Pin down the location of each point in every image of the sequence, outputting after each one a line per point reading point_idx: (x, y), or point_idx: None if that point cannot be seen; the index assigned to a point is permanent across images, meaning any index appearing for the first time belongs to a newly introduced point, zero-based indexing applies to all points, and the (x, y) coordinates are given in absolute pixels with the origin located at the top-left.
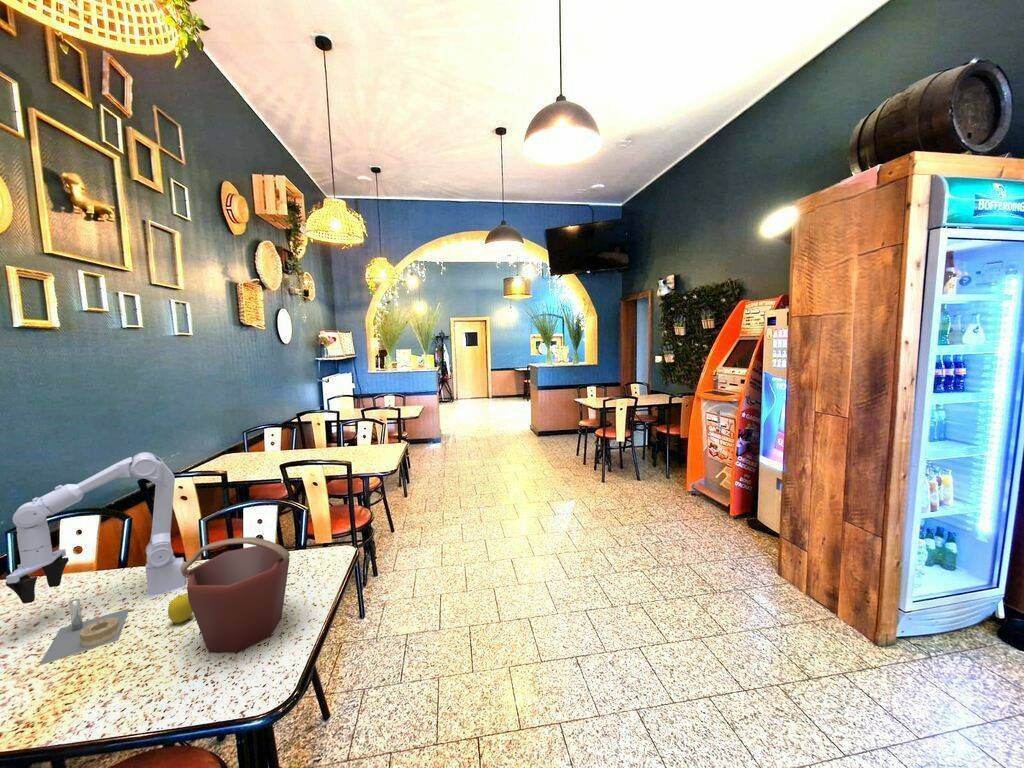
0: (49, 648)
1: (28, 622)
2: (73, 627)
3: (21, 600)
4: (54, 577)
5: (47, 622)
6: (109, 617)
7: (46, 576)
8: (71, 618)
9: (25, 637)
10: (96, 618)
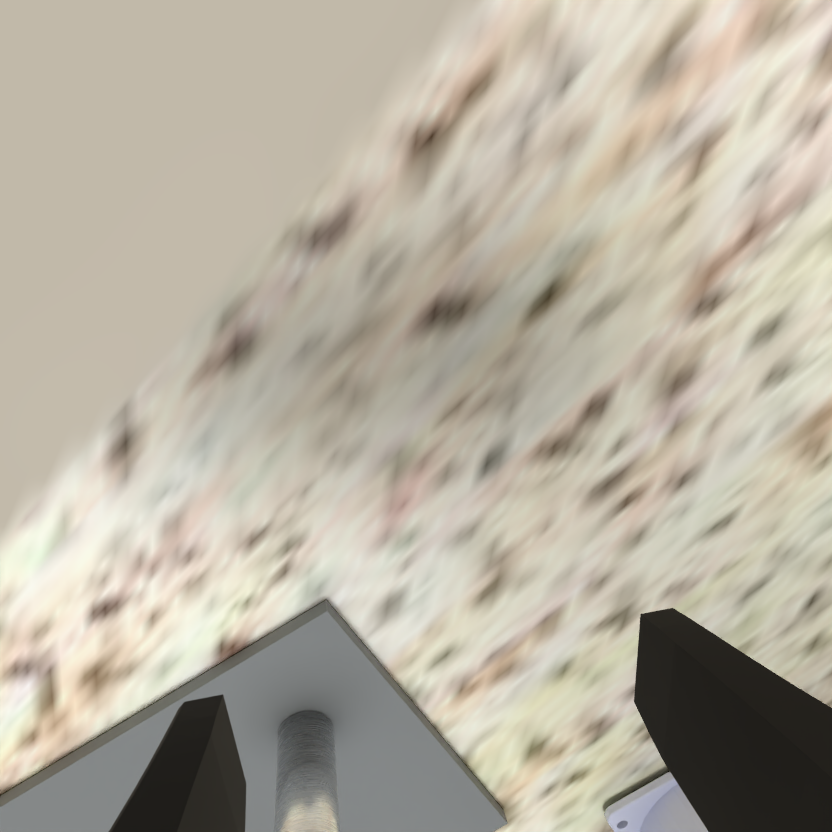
0: (83, 763)
1: (493, 192)
2: (277, 759)
3: (161, 748)
4: (739, 816)
5: (458, 386)
6: (417, 801)
7: (793, 748)
8: (274, 828)
9: (255, 411)
10: (420, 736)
